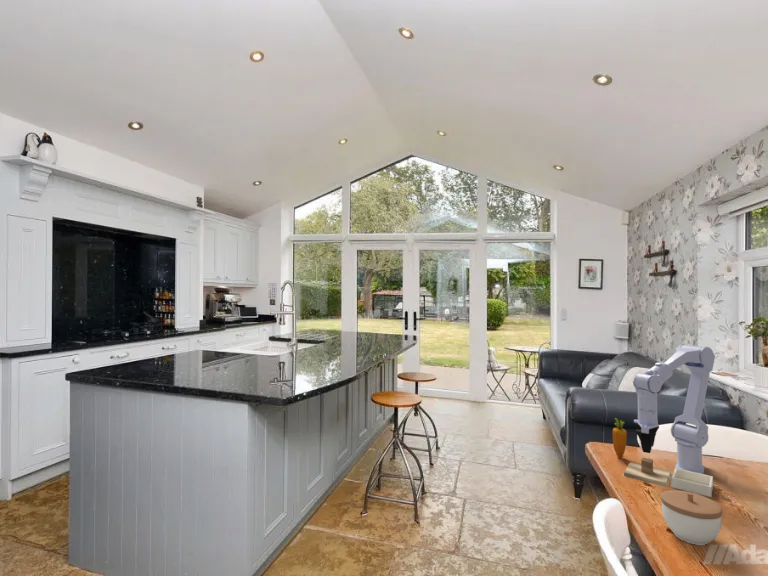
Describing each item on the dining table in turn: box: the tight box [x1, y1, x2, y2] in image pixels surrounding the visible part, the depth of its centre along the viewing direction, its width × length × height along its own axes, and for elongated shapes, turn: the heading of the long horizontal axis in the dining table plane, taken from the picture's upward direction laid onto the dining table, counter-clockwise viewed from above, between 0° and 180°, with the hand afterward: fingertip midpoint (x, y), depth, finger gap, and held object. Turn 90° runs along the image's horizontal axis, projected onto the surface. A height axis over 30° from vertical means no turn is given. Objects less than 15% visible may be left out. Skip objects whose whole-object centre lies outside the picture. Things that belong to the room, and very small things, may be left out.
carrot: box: [612, 417, 628, 459], centre depth 157 cm, size 5×5×15 cm
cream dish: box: [671, 467, 714, 498], centre depth 132 cm, size 10×10×4 cm
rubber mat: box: [621, 472, 673, 488], centre depth 141 cm, size 13×13×1 cm
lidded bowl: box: [660, 489, 723, 546], centre depth 105 cm, size 13×13×11 cm
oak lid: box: [623, 457, 672, 487], centre depth 141 cm, size 12×12×5 cm
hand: (648, 449), depth 141 cm, fingers open, 7 cm apart
